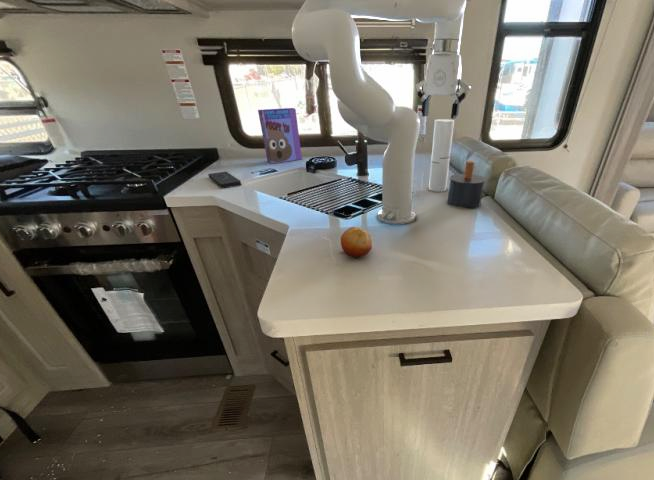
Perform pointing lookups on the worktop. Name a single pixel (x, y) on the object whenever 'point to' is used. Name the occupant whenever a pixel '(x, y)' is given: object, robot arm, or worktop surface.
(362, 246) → the fruit
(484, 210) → the worktop surface
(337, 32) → the robot arm
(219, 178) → the smart home device
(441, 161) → the white tall block
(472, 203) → the pot
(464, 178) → the lid
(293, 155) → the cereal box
